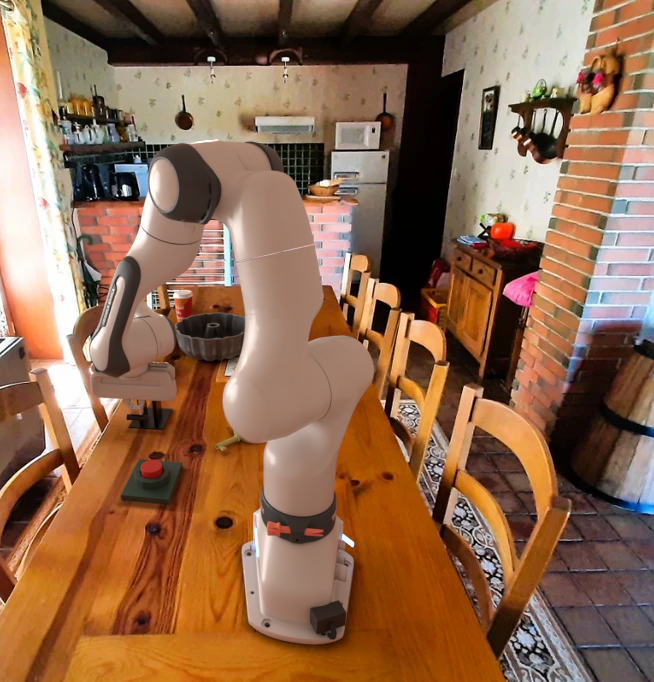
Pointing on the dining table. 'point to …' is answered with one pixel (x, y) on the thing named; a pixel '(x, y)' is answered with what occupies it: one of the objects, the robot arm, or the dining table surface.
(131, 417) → the lever
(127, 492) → the switch box
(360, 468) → the dining table surface
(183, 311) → the paper cup
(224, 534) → the dining table surface
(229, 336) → the bundt pan
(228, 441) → the key
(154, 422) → the lever bracket
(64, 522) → the dining table surface
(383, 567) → the dining table surface
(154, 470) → the button
